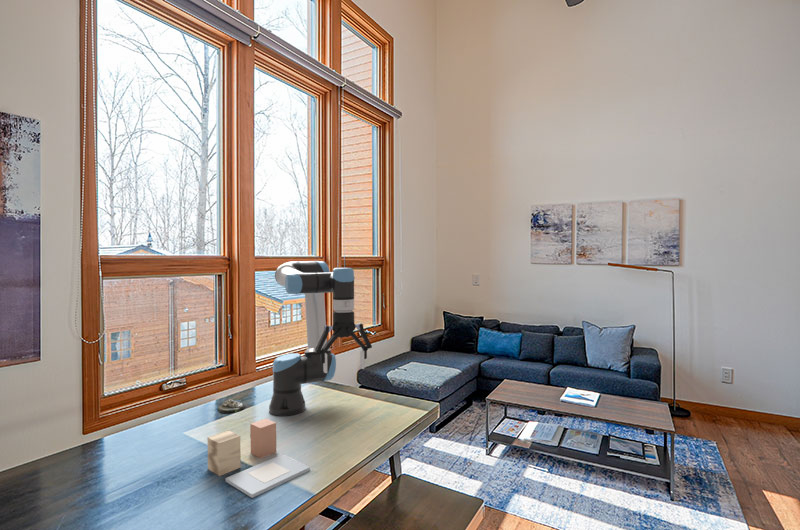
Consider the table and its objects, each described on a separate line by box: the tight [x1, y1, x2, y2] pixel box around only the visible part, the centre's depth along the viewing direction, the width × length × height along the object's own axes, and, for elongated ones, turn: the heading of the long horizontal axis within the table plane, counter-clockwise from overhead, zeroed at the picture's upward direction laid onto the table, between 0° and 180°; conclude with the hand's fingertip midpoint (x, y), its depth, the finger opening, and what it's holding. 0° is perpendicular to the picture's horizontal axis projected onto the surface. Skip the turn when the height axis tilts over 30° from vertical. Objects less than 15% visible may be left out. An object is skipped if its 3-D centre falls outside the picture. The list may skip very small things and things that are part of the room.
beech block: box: [206, 430, 242, 477], centre depth 137 cm, size 7×7×10 cm
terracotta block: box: [249, 418, 278, 459], centre depth 148 cm, size 6×6×10 cm
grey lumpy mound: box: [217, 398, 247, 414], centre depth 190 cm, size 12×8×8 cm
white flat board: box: [225, 453, 311, 499], centre depth 132 cm, size 14×20×1 cm
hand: (344, 370), depth 157 cm, fingers open, 13 cm apart
